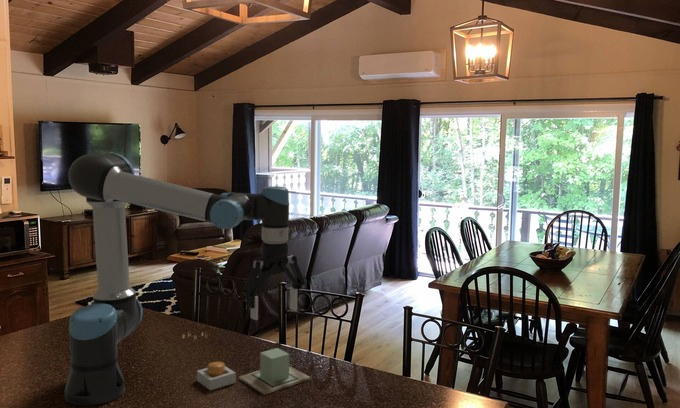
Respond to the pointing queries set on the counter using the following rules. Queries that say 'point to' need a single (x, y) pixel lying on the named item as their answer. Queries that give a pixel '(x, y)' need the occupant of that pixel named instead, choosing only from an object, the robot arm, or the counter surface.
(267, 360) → the sage block
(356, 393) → the counter surface
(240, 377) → the beige flat rectangular board
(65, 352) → the counter surface
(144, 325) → the counter surface
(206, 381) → the button housing
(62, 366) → the counter surface
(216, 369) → the button
